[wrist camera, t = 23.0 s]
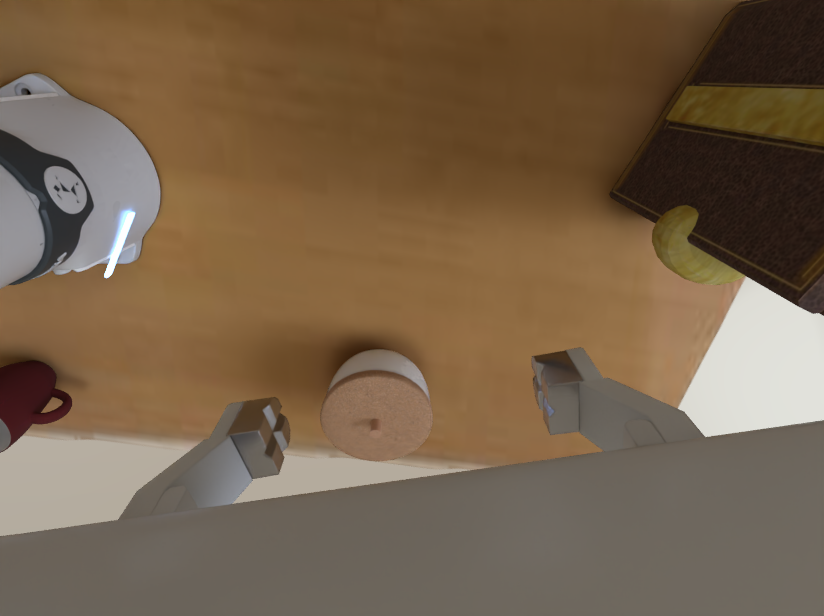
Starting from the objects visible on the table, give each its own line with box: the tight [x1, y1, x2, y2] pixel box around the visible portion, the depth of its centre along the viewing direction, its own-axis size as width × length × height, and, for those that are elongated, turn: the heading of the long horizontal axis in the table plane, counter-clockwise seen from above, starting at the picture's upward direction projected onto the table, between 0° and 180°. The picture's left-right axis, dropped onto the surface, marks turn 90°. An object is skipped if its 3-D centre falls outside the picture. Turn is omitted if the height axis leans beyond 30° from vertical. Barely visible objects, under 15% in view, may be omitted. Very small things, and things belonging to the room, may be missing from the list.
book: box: [610, 0, 824, 316], centre depth 32 cm, size 22×8×25 cm, turn 156°
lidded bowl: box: [320, 349, 433, 461], centre depth 51 cm, size 13×13×11 cm
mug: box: [0, 361, 72, 453], centre depth 51 cm, size 11×8×10 cm
